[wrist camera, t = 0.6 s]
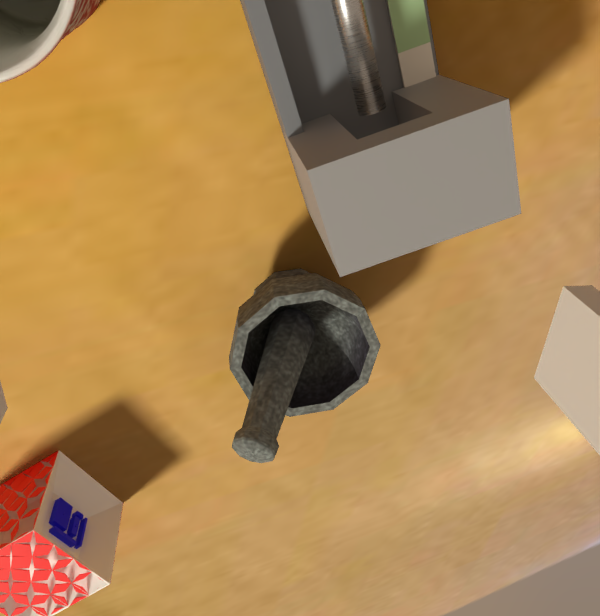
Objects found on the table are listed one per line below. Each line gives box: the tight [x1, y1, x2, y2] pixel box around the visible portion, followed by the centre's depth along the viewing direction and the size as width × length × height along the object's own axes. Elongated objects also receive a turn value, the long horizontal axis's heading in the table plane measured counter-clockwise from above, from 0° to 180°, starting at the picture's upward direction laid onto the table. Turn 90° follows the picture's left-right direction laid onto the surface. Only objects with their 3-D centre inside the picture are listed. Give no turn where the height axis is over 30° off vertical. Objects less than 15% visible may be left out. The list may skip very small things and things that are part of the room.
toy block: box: [0, 450, 123, 616], centre depth 44 cm, size 8×8×8 cm
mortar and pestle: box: [229, 268, 380, 463], centre depth 37 cm, size 11×9×12 cm
